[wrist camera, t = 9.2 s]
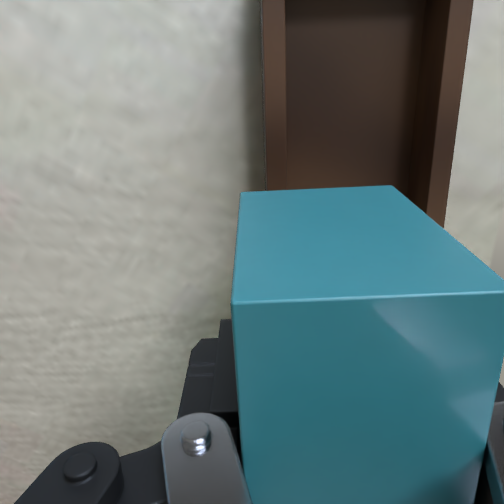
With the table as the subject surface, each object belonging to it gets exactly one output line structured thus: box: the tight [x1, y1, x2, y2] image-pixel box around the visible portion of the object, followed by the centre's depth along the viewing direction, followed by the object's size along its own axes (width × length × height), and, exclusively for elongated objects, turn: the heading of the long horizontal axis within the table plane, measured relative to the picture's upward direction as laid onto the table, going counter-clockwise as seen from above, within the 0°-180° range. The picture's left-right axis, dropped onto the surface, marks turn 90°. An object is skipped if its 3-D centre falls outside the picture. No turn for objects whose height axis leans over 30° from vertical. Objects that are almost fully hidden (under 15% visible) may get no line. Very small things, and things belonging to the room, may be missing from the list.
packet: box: [230, 185, 504, 504], centre depth 11 cm, size 4×8×6 cm, turn 3°
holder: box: [260, 0, 473, 229], centre depth 23 cm, size 18×9×4 cm, turn 2°
